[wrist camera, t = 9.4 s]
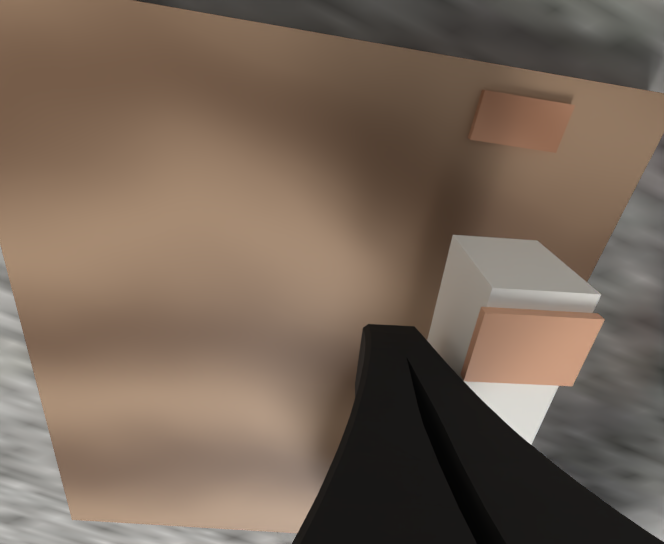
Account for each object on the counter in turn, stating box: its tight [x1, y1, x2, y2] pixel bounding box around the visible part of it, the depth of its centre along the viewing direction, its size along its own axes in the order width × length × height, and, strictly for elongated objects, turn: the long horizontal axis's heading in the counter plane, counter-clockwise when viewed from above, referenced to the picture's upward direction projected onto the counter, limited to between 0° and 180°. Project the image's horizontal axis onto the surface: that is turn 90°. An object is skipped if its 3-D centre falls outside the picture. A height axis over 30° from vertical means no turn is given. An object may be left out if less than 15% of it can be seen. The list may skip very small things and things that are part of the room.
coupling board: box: [0, 0, 664, 533], centre depth 14 cm, size 20×18×4 cm
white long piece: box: [427, 235, 605, 445], centre depth 12 cm, size 16×7×3 cm, turn 175°
